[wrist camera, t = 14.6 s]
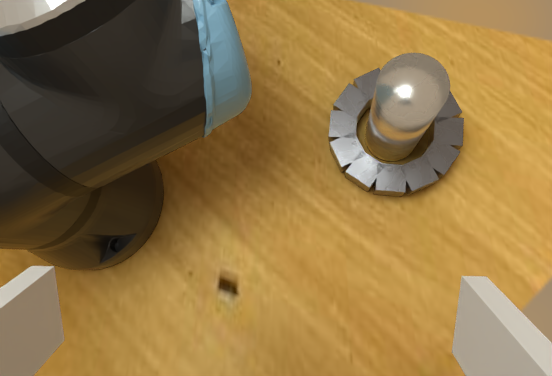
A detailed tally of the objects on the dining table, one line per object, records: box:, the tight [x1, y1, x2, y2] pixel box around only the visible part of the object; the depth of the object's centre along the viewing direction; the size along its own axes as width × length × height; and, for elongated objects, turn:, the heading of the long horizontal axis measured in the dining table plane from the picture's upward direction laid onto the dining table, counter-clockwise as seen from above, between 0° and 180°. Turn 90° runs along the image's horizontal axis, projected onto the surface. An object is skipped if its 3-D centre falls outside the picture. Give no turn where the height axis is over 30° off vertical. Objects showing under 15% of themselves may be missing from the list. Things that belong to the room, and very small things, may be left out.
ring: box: [329, 68, 464, 197], centre depth 40 cm, size 12×12×2 cm
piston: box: [365, 53, 450, 161], centre depth 35 cm, size 5×5×12 cm
